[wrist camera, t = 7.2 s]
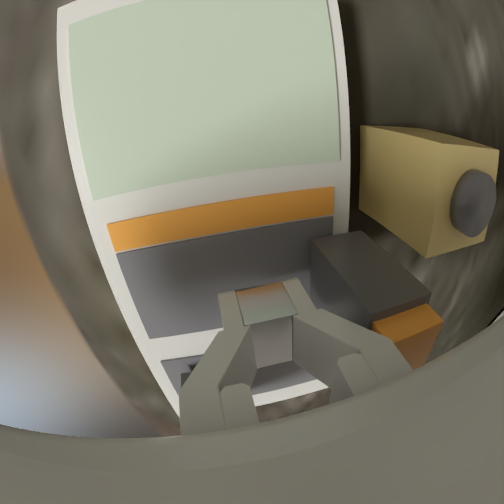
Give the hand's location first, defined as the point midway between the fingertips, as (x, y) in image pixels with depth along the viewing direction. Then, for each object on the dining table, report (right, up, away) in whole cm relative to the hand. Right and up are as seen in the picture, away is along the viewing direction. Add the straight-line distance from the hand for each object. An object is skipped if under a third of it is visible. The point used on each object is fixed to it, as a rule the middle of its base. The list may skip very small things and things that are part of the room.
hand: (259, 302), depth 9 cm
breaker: (+3, +1, +2) cm, 4 cm away
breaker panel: (-2, +2, +3) cm, 4 cm away
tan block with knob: (+7, +6, +4) cm, 9 cm away
